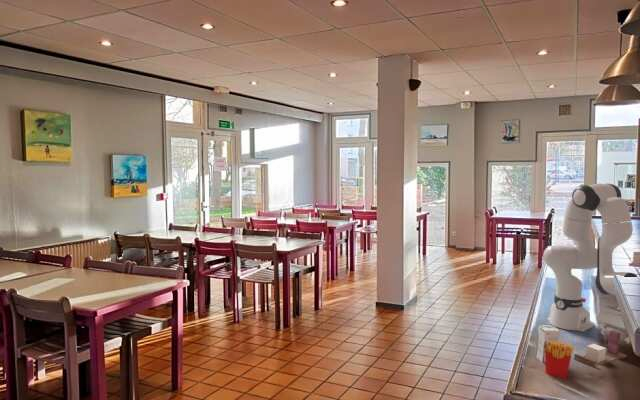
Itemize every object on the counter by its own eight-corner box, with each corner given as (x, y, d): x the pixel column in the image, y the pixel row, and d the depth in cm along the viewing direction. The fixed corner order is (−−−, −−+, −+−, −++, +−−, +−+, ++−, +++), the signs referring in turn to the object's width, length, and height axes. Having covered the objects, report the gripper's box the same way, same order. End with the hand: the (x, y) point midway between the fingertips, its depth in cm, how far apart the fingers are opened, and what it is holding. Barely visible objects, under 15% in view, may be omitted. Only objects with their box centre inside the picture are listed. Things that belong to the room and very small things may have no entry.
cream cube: (592, 355, 206) (593, 343, 205) (604, 360, 202) (606, 348, 201) (585, 357, 203) (586, 345, 203) (597, 362, 199) (599, 350, 199)
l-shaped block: (606, 350, 214) (609, 327, 213) (626, 357, 208) (628, 334, 207) (573, 361, 202) (576, 337, 201) (593, 369, 195) (596, 344, 194)
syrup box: (549, 359, 203) (552, 324, 202) (556, 366, 197) (559, 330, 196) (535, 359, 203) (538, 324, 201) (542, 365, 197) (545, 329, 196)
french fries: (542, 376, 188) (545, 342, 187) (544, 371, 192) (547, 338, 190) (569, 382, 183) (573, 348, 182) (571, 378, 187) (574, 344, 186)
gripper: (602, 300, 221) (587, 325, 217) (653, 315, 203) (637, 343, 200) (607, 308, 224) (592, 333, 220) (657, 324, 206) (642, 351, 203)
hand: (614, 338), depth 210 cm, fingers open, 8 cm apart
